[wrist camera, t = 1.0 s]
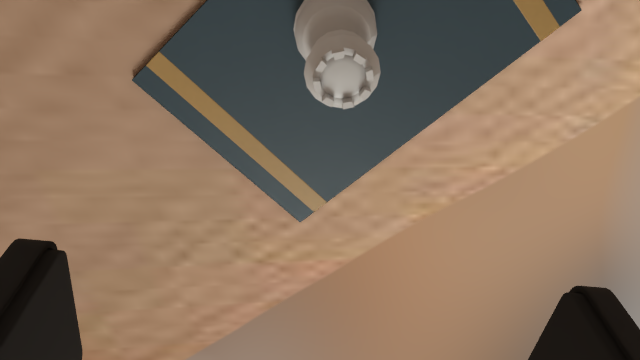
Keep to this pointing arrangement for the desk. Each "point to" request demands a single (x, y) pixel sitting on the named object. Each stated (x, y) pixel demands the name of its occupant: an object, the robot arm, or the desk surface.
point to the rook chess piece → (338, 50)
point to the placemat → (314, 116)
